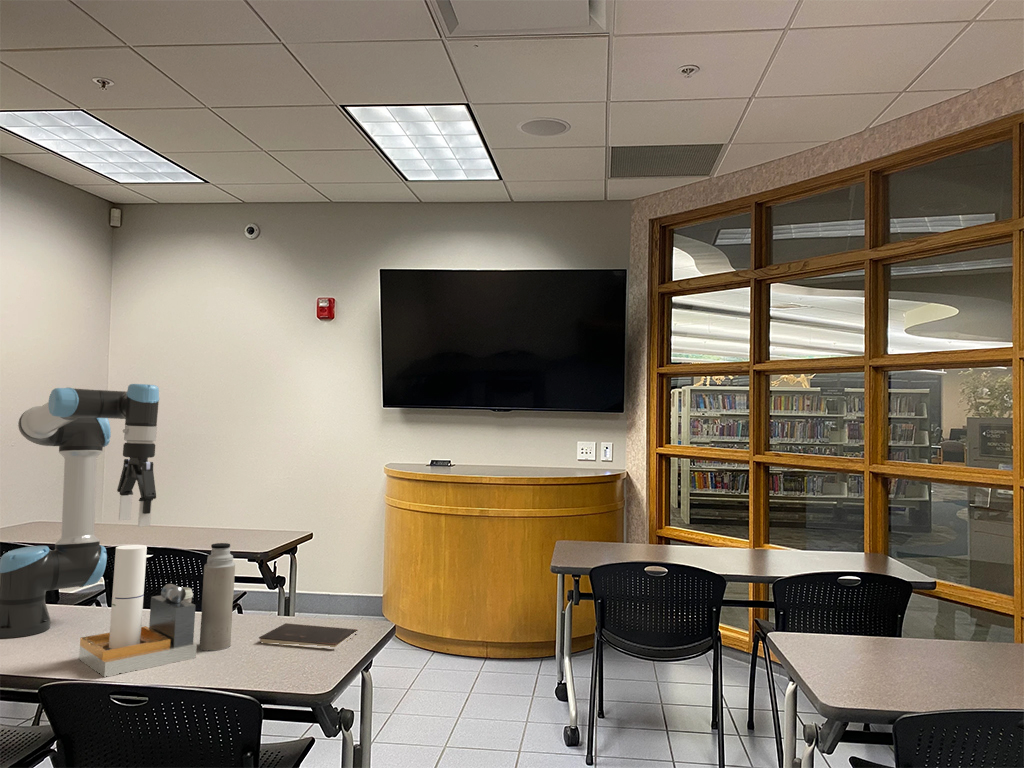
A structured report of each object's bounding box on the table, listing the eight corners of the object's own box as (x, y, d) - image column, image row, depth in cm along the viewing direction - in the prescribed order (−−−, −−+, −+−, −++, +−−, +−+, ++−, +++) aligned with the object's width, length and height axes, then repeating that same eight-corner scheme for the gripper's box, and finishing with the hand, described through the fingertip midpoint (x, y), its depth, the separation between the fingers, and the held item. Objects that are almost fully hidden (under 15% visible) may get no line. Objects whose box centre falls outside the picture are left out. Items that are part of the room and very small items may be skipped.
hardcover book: (335, 652, 195) (335, 644, 196) (258, 645, 199) (258, 637, 200) (357, 636, 211) (357, 628, 211) (285, 630, 215) (286, 622, 215)
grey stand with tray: (78, 659, 182) (83, 590, 183) (167, 642, 198) (171, 578, 199) (104, 677, 170) (109, 603, 171) (195, 657, 186) (200, 589, 187)
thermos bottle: (222, 640, 201) (228, 540, 203) (235, 646, 196) (241, 544, 198) (194, 645, 196) (200, 543, 197) (207, 652, 190) (213, 547, 192)
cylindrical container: (126, 650, 178) (133, 550, 180) (102, 647, 180) (109, 548, 182) (146, 642, 185) (153, 545, 187) (122, 639, 187) (129, 544, 188)
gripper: (107, 439, 194) (101, 518, 192) (142, 444, 177) (136, 530, 175) (137, 440, 199) (131, 516, 198) (173, 444, 182) (168, 527, 181)
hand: (134, 523), depth 187 cm, fingers open, 13 cm apart
